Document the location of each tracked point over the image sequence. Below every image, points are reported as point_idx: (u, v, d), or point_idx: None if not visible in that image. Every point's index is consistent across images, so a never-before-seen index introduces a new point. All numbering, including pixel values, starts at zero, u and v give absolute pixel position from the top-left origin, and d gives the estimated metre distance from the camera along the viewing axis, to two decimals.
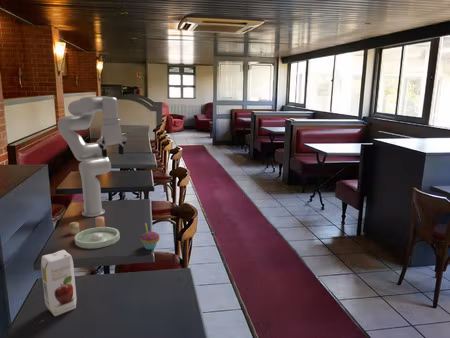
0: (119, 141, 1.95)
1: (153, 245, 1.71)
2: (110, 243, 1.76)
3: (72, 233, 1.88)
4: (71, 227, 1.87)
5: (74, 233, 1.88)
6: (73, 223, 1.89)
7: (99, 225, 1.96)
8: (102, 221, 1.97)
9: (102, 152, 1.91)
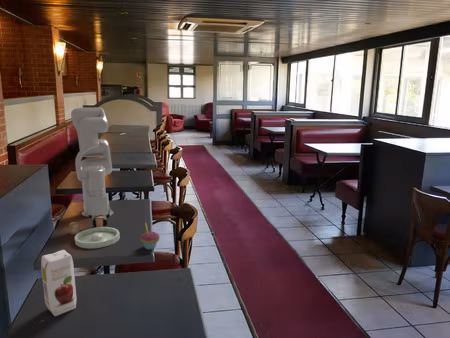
0: None
1: (153, 245, 1.71)
2: (110, 243, 1.76)
3: (72, 233, 1.88)
4: (71, 227, 1.87)
5: (74, 233, 1.88)
6: (73, 223, 1.89)
7: (99, 225, 1.96)
8: (102, 221, 1.97)
9: (106, 222, 1.98)
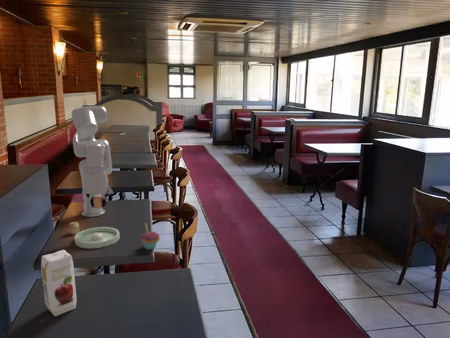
0: None
1: (153, 245, 1.71)
2: (110, 243, 1.76)
3: (72, 233, 1.88)
4: (71, 227, 1.87)
5: (74, 233, 1.88)
6: (73, 223, 1.89)
7: (97, 205, 1.82)
8: (100, 200, 1.83)
9: (105, 201, 1.84)
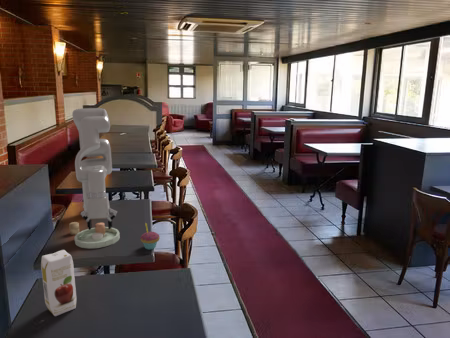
0: None
1: (153, 245, 1.71)
2: (110, 243, 1.76)
3: (72, 233, 1.88)
4: (71, 227, 1.87)
5: (74, 233, 1.88)
6: (73, 223, 1.89)
7: (99, 232, 1.85)
8: (102, 228, 1.86)
9: (111, 223, 1.87)
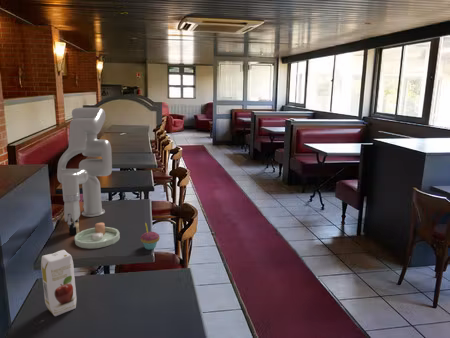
0: (79, 214, 1.91)
1: (153, 245, 1.71)
2: (110, 243, 1.76)
3: None
4: None
5: None
6: None
7: (99, 232, 1.85)
8: (102, 228, 1.86)
9: (71, 230, 1.86)
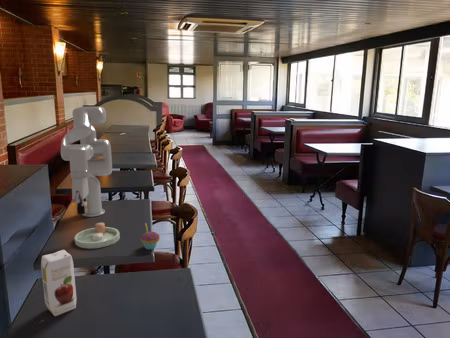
0: (87, 193, 1.80)
1: (153, 245, 1.71)
2: (110, 243, 1.76)
3: None
4: None
5: None
6: (81, 202, 1.78)
7: (99, 232, 1.85)
8: (102, 228, 1.86)
9: (79, 209, 1.75)
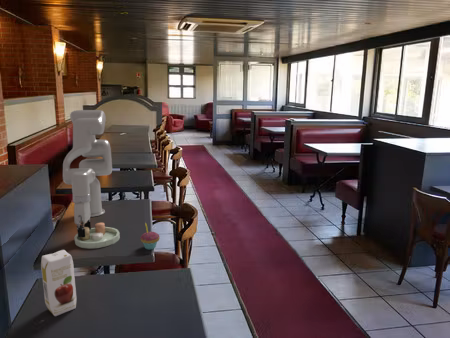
0: (89, 216, 1.83)
1: (153, 245, 1.71)
2: (110, 243, 1.76)
3: (82, 239, 1.79)
4: None
5: (84, 239, 1.80)
6: None
7: (99, 232, 1.85)
8: (102, 228, 1.86)
9: (80, 233, 1.75)
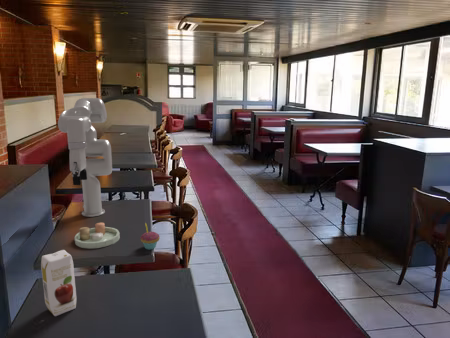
0: (85, 165, 1.77)
1: (153, 245, 1.71)
2: (110, 243, 1.76)
3: (82, 239, 1.79)
4: (81, 232, 1.79)
5: (84, 239, 1.80)
6: (83, 228, 1.81)
7: (99, 232, 1.85)
8: (102, 228, 1.86)
9: (75, 180, 1.70)
